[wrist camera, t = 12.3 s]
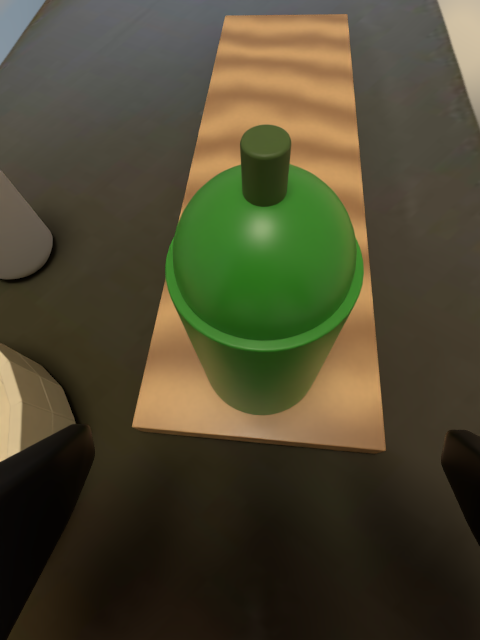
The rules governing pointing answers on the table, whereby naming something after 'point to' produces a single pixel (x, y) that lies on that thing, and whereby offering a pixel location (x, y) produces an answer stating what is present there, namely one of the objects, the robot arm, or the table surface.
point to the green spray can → (264, 275)
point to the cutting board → (332, 168)
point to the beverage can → (20, 235)
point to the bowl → (28, 403)
